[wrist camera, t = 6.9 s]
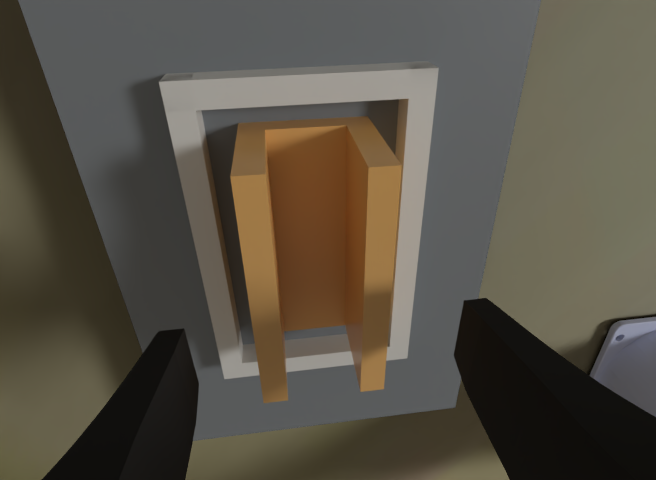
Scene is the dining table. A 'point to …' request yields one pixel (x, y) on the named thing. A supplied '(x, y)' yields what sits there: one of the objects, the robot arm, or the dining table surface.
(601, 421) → the robot arm
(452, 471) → the dining table surface
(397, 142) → the large grey panel
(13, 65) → the dining table surface
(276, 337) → the chute
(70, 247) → the dining table surface
